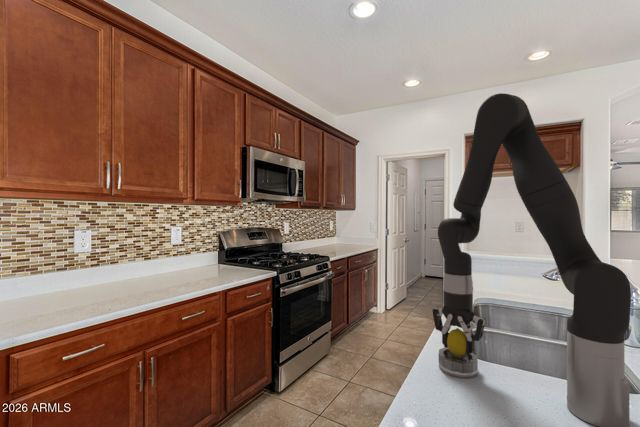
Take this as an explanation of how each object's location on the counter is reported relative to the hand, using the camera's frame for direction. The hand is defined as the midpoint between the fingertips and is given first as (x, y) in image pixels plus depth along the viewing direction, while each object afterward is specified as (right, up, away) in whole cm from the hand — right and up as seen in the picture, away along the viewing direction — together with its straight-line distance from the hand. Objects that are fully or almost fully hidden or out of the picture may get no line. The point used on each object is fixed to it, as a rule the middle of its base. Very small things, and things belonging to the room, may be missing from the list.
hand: (457, 349), depth 85 cm
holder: (0, -5, 0) cm, 5 cm away
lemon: (0, -2, 0) cm, 2 cm away
